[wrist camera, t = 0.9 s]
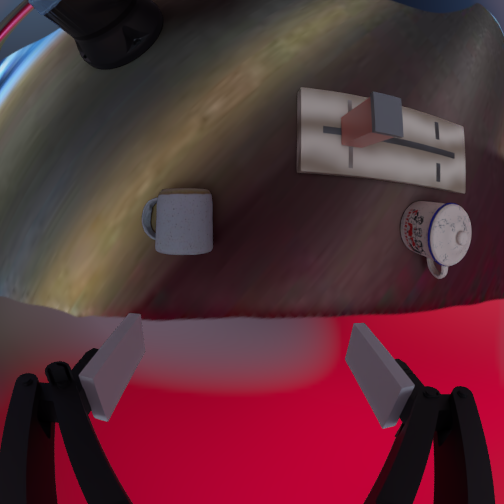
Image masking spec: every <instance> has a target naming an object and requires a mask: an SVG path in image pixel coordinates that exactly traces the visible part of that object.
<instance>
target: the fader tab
mask: <svg viewBox="0 0 504 504" xmlns="http://www.w3.org/2000/svg"><path fill="white" fill-rule="evenodd" d="M341 131H342V145H345V146H352V147H359V148H363V147H366V146H369V145H372V144H375V143H378V142H381V141H384V140H387V139H390V138H394V137H397V138H402V137H404V135H403V117H402V105H401V98H397V97H393V96H390V95H386V94H382V93H378V92H372V93H370V97H369V98H368V99H366V100H365V101H364V102H362V103H361V104H359V105H358V106H356V107H355V108H354V109H352V110H351V111H349V112H348V113H347V114H345V115H344V116H342V117H341Z"/></svg>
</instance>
